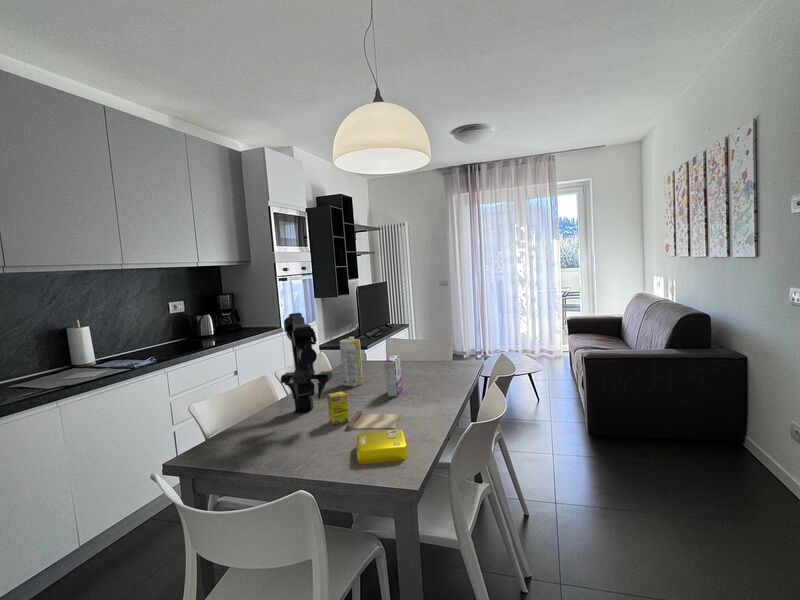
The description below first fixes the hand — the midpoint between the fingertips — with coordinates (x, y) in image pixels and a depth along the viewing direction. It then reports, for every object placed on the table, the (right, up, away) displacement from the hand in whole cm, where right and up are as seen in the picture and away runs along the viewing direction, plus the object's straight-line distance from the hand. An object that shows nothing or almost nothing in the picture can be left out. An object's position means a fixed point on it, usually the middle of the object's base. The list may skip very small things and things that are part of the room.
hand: (308, 399), depth 165 cm
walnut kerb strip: (+18, -8, -2) cm, 20 cm away
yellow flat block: (+29, -10, -30) cm, 43 cm away
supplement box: (+12, -9, -1) cm, 15 cm away
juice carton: (+11, -5, +51) cm, 53 cm away
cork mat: (+26, -8, -3) cm, 28 cm away
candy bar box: (+33, -5, +32) cm, 46 cm away
